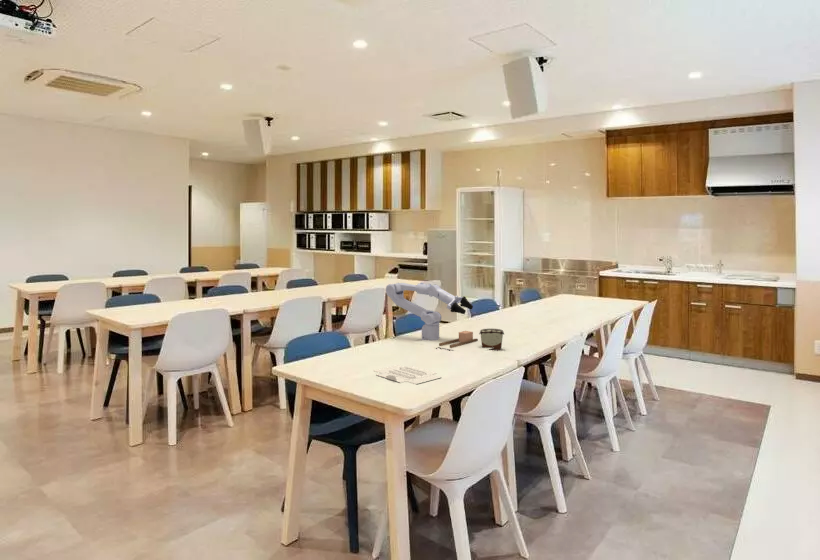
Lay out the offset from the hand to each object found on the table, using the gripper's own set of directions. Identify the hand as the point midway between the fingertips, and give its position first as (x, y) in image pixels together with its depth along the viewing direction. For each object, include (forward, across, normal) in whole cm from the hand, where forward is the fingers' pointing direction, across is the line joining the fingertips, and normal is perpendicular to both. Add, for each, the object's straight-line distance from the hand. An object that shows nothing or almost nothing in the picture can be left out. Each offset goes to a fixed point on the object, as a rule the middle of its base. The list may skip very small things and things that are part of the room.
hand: (468, 310), depth 278 cm
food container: (+20, -5, +11) cm, 23 cm away
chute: (+4, -8, +17) cm, 19 cm away
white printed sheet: (+9, -66, +3) cm, 67 cm away
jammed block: (+5, -2, +17) cm, 17 cm away
